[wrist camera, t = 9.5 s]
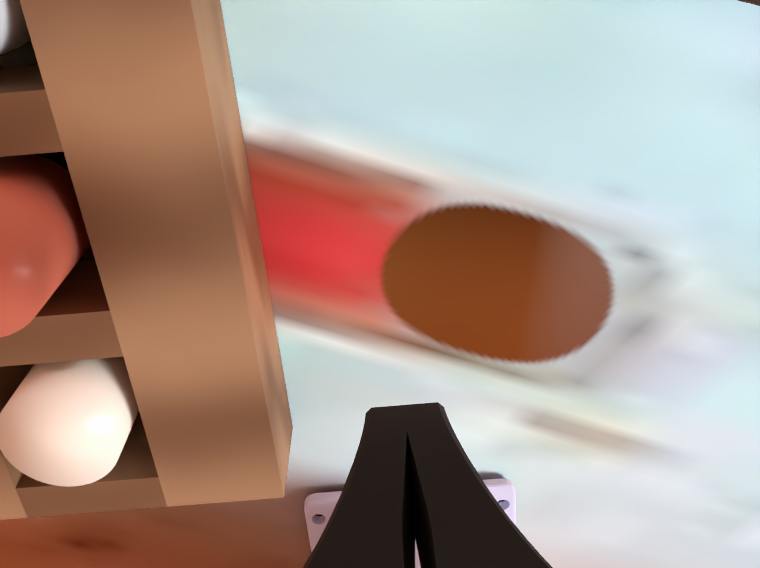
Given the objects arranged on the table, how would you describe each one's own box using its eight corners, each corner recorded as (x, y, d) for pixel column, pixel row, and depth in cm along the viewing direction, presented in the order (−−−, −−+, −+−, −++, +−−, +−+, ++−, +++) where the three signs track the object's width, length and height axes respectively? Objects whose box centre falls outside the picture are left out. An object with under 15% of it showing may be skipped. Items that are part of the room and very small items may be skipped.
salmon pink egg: (109, 262, 21) (61, 333, 18) (-9, 273, 21) (-79, 344, 18) (77, 148, 20) (17, 200, 16) (-51, 158, 20) (-137, 213, 16)
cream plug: (163, 402, 25) (132, 481, 22) (63, 410, 25) (17, 490, 22) (139, 315, 24) (103, 386, 20) (33, 324, 24) (-23, 396, 20)
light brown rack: (292, 427, 26) (284, 497, 23) (-36, 453, 26) (-89, 526, 23) (185, -199, 17) (148, -221, 14) (-309, -155, 18) (-452, -167, 14)
